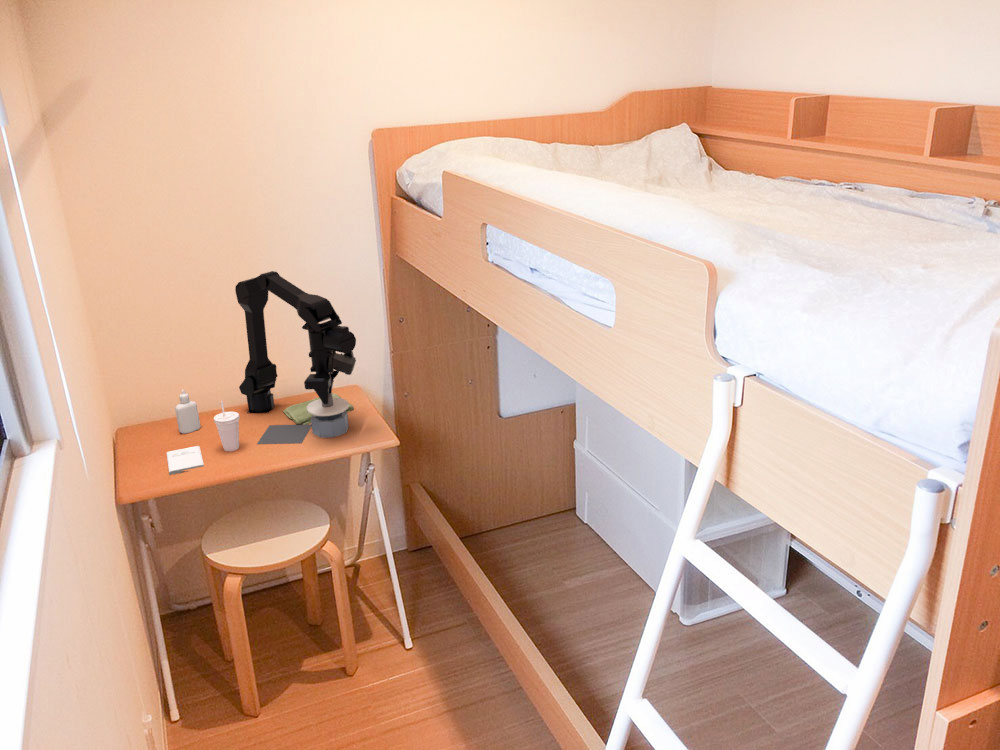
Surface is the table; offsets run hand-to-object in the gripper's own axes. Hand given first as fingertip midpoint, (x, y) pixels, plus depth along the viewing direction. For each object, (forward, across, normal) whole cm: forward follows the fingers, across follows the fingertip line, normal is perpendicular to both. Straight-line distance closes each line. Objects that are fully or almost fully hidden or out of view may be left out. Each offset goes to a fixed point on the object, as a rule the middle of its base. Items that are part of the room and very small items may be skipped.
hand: (327, 401), depth 215 cm
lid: (+2, 0, 0) cm, 2 cm away
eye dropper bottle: (+9, +3, +40) cm, 41 cm away
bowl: (+9, 0, 0) cm, 9 cm away
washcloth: (+10, +13, +6) cm, 18 cm away
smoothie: (+9, -10, +24) cm, 28 cm away
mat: (+9, -2, +12) cm, 15 cm away
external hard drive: (+10, -16, +34) cm, 39 cm away
